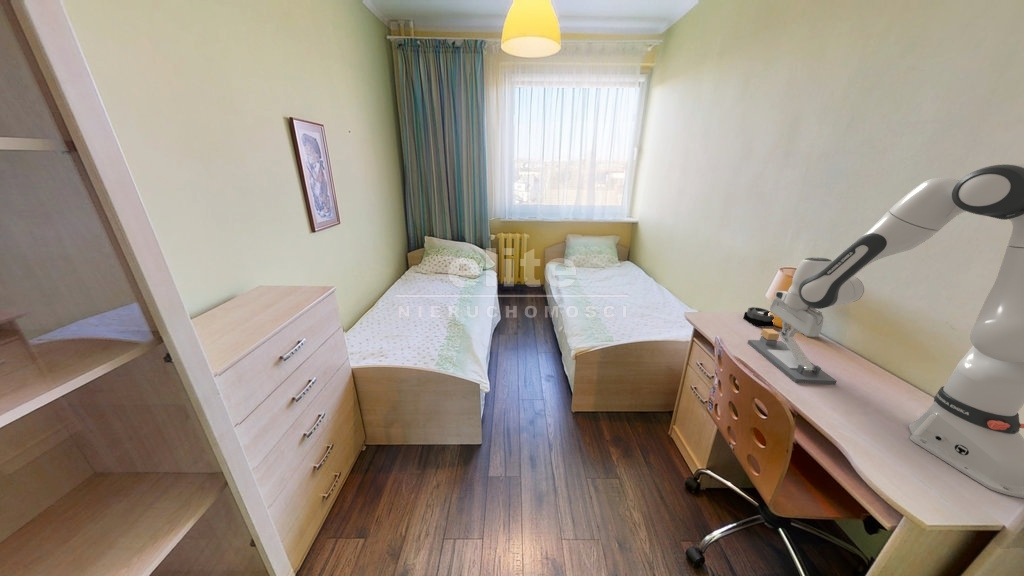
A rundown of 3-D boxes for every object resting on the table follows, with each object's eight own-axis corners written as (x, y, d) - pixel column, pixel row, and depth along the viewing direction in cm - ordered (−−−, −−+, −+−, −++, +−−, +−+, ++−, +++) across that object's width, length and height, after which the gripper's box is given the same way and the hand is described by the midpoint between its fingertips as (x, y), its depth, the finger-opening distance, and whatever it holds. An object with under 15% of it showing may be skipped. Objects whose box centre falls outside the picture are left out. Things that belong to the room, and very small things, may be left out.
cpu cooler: (742, 306, 155) (763, 306, 155) (739, 317, 157) (760, 317, 157) (758, 316, 145) (780, 316, 145) (755, 327, 147) (777, 327, 148)
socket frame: (835, 384, 109) (839, 374, 108) (795, 382, 110) (799, 372, 108) (780, 344, 133) (783, 335, 132) (747, 342, 134) (750, 334, 132)
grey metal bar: (814, 372, 112) (817, 370, 111) (803, 371, 112) (805, 369, 111) (787, 333, 124) (789, 331, 123) (777, 333, 124) (779, 331, 123)
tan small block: (777, 340, 129) (779, 333, 128) (767, 339, 129) (769, 333, 128) (770, 335, 133) (772, 329, 132) (760, 334, 133) (762, 328, 132)
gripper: (834, 314, 107) (818, 350, 112) (789, 290, 126) (777, 321, 131) (814, 313, 107) (799, 349, 112) (772, 289, 126) (761, 321, 131)
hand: (787, 334), depth 122 cm, fingers closed
